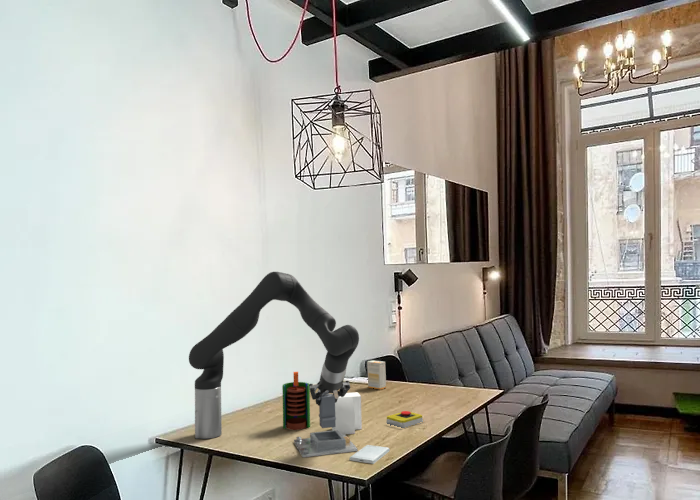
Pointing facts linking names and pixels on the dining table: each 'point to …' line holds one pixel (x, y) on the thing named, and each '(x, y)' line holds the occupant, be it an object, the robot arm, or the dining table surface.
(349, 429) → the corner bracket
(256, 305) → the robot arm
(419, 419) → the emergency button
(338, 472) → the dining table surface
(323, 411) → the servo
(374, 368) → the supplement box
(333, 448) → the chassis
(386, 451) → the hard drive
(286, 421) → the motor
